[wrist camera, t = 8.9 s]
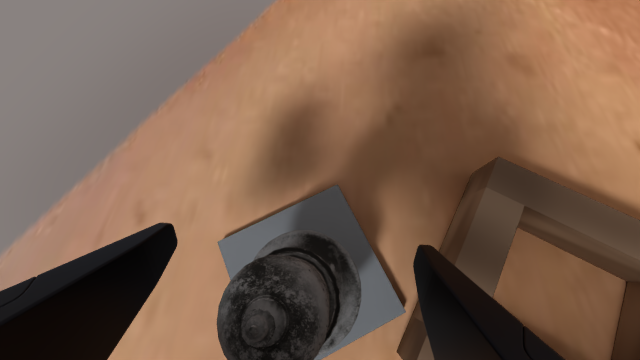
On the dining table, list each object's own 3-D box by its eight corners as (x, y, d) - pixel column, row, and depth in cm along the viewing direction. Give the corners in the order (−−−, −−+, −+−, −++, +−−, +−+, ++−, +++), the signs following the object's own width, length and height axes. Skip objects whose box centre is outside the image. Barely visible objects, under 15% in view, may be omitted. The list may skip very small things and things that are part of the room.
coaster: (270, 384, 15) (268, 388, 14) (220, 242, 18) (217, 241, 17) (403, 310, 16) (405, 312, 15) (337, 186, 19) (337, 184, 18)
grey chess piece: (264, 343, 15) (61, 582, 4) (259, 242, 17) (114, 197, 6) (362, 331, 15) (457, 533, 4) (347, 231, 17) (380, 164, 6)
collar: (635, 504, 13) (721, 572, 10) (396, 351, 15) (412, 371, 12) (673, 267, 16) (746, 268, 13) (472, 173, 19) (498, 156, 16)
